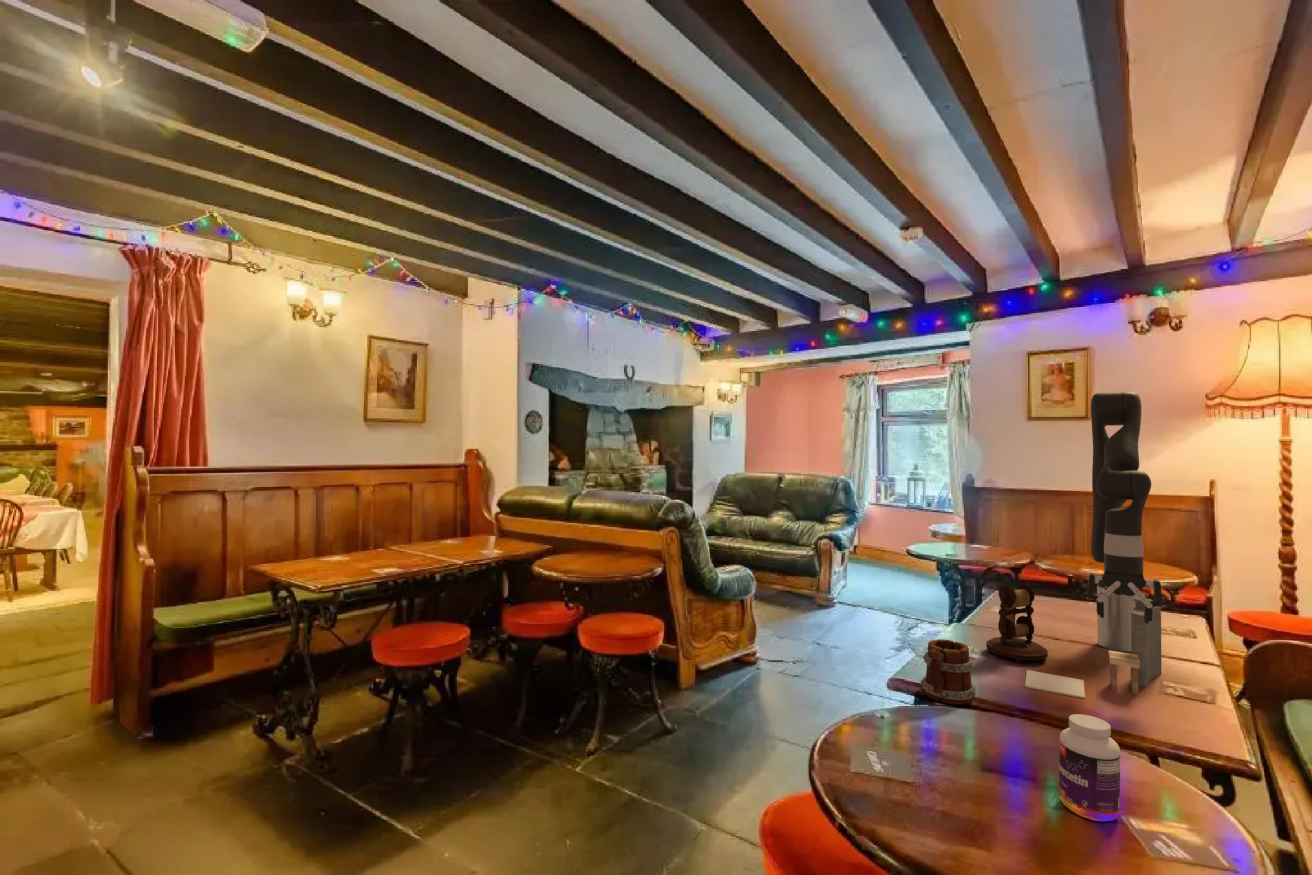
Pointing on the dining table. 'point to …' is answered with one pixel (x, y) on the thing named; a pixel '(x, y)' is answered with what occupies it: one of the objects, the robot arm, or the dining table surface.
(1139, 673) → the hip flask
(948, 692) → the mug
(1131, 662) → the stool
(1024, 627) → the scroll
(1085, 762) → the pill bottle
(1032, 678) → the mat
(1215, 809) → the dining table surface
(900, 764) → the dining table surface
